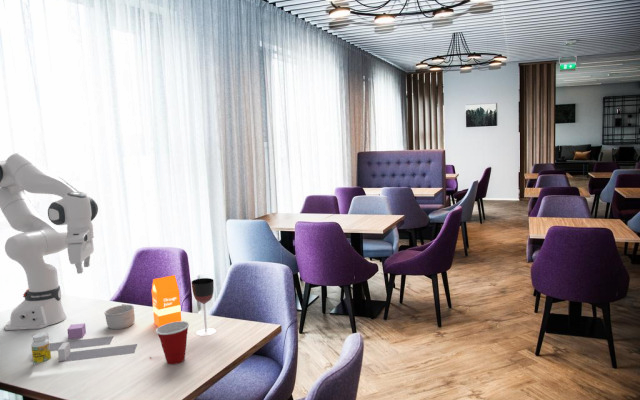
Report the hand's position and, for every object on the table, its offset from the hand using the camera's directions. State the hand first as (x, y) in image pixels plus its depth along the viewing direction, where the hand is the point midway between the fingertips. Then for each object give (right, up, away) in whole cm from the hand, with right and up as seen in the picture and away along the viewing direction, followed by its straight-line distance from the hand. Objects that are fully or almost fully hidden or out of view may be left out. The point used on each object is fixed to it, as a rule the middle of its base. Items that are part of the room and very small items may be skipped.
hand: (83, 269), depth 190 cm
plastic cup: (+43, -27, -25) cm, 57 cm away
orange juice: (+30, -24, +8) cm, 39 cm away
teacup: (+12, -24, +9) cm, 28 cm away
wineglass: (+47, -24, -1) cm, 53 cm away
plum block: (-1, -26, -2) cm, 26 cm away
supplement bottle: (-3, -29, -22) cm, 36 cm away
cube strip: (+3, -27, -11) cm, 29 cm away
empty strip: (+15, -27, -19) cm, 36 cm away
